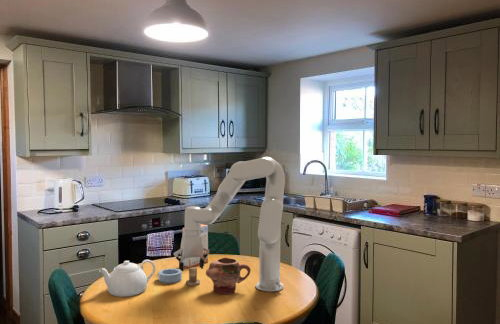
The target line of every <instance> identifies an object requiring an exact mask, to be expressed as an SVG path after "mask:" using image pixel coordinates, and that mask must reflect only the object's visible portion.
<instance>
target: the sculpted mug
mask: <svg viewBox="0 0 500 324" xmlns="http://www.w3.org/2000/svg"><path fill="white" fill-rule="evenodd" d="M242 269H245V270H246V271H247V273H246V274H245V276H241V271H242ZM250 274H251V267H250V266H249V265H248V264H245V263H239V261H238V260H237V259H234V258H231V257H221V258H218V259H215V260H213V261H211V262H210V264H209V266H208V267H207V269H206V271H205V275H206V276H207V277H208V278H209V279H210V280H211V281H212V283H213V284H212V285H213V292H214V293H216V294H218V295H231V294H234V293H235V291H236V289H237V284H240V283H242V282H244V281H245V280H246V279H247V278H248V277H249V276H250Z"/></svg>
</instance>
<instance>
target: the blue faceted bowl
mask: <svg viewBox="0 0 500 324" xmlns="http://www.w3.org/2000/svg"><path fill="white" fill-rule="evenodd" d="M157 273H158V277H157V278H158V282H159V283H160V284H167V285H170V284H172V285H173V284H176V283H179V282H181V281H182V278H183V271H181V270H180V269H179V268H173V267H172V268H164V269H161V270H159V271H158V272H157Z"/></svg>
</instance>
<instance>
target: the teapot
mask: <svg viewBox="0 0 500 324" xmlns="http://www.w3.org/2000/svg"><path fill="white" fill-rule="evenodd" d="M145 263H150V265H152V271H151V273H150V274H149V275H148V276H147V274H146V272H145V271H144V264H145ZM155 272H156V265H155V263H154V261H152V260H150V259H144V260H143V261H142V262H141V264H140V265H139V264H137V263H134V262H130V260H124V261H123V263H120V264H118V265H116V267H115V266H114V268H113V270H112V271H111V272H110V273H109V272H108V270H107V269H106V268H103V267H100V269H99V270H98V273H102V276H103V281H104V283H105V285H106V287H107V291H108V293H109V294H110V295H111V296H113V297H121V298H124V297H133V296H136V295H139V294H142V293H143V292H145V291H146V289H147V287H148V283H149V280H150V279H151V278H152V276H153V275H154V274H155Z"/></svg>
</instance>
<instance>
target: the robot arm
mask: <svg viewBox="0 0 500 324" xmlns="http://www.w3.org/2000/svg"><path fill="white" fill-rule="evenodd" d="M229 169H230V170H229V172H228V173H227V175H226V176H225V177H224V179H222V181H221V183H219V186H218V188H217V191H216V194H215V195H214V197H213V198H212V199H211V200H210V202H209V204H208V205H207V206H205V208H204V207H203V208H201V207H199V206H196V205H192V206H187V207H185V210H184V228H185V230H184V236H183V235H182V237H181V242H180V248H179V249H178V250H177V251H174V252H173V255H174V258H175V259H176V261H178V269H180V270H181V271H182V272H183V271H184V267H185V266H184V263H183V261H184V259H185V258H194V257H200V258H201V259H200V262H199V265H198V267H199V268H200V269H201V270H202V269H204V266H205V263H204V260H205V258H206V257H207V256H208V257H209V254H210V249H209V248H208V249H206V248H204V247H203V241H202V236H201V233H203V230H201V224H203V225H212V224H213V223H215V221H216V220H217V219H218V218H219V217H220V216H221V214H223V212H224V210H225V209H226V208H227V207H228V205H229V203H231V201H233V199H234V197H235V196H236V194H237V193H239V191H240V189H241V188H242V187H243V185H244V184H245V182H247V181H251V180H255V179H261V178H262V179H263V178H265V179H266V181H265V182H266V183H265V192H264V198H263V201H262V203H261V206H260V213H259V219H258V220H259V221H258V228H257V236H258V239H259V261H258V262H259V263H258V264H259V266H258V267H259V268H258V269H259V270H258V273H259V274H258V280H259V281H258V282H257V283H255V288H256V289H257V290H259V291H263V292H269V293H270V292H271V293H273V292H279V291H281V290H283V288H284V284H283V282H281V238H282V237H281V235H282V234H281V233H282V232H281V230H282V229H281V226H282V225H281V224H282V218H283V210H284V196H285V185H286V176H285V172H284V169H283V167H282V165H281V163H279V162H278V161H276V160H275V159H274V158H272V157H270V156H263V157H260V158H256V159H249V160H246V161H237V162H235V163H233V164H232V165H231V167H230V168H229ZM203 250H204V251H206V252H205V254H204V255H203Z"/></svg>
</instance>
